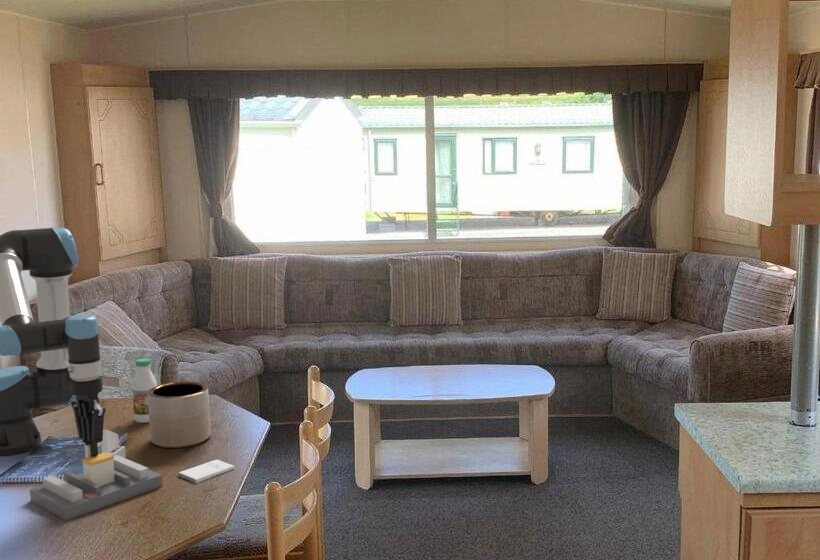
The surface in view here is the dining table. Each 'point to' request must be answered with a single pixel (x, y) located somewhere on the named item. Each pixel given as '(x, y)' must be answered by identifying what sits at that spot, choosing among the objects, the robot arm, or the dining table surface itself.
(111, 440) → the white angled block
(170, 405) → the planter
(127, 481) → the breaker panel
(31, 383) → the robot arm
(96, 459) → the block
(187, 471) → the external hard drive
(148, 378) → the milk bottle
